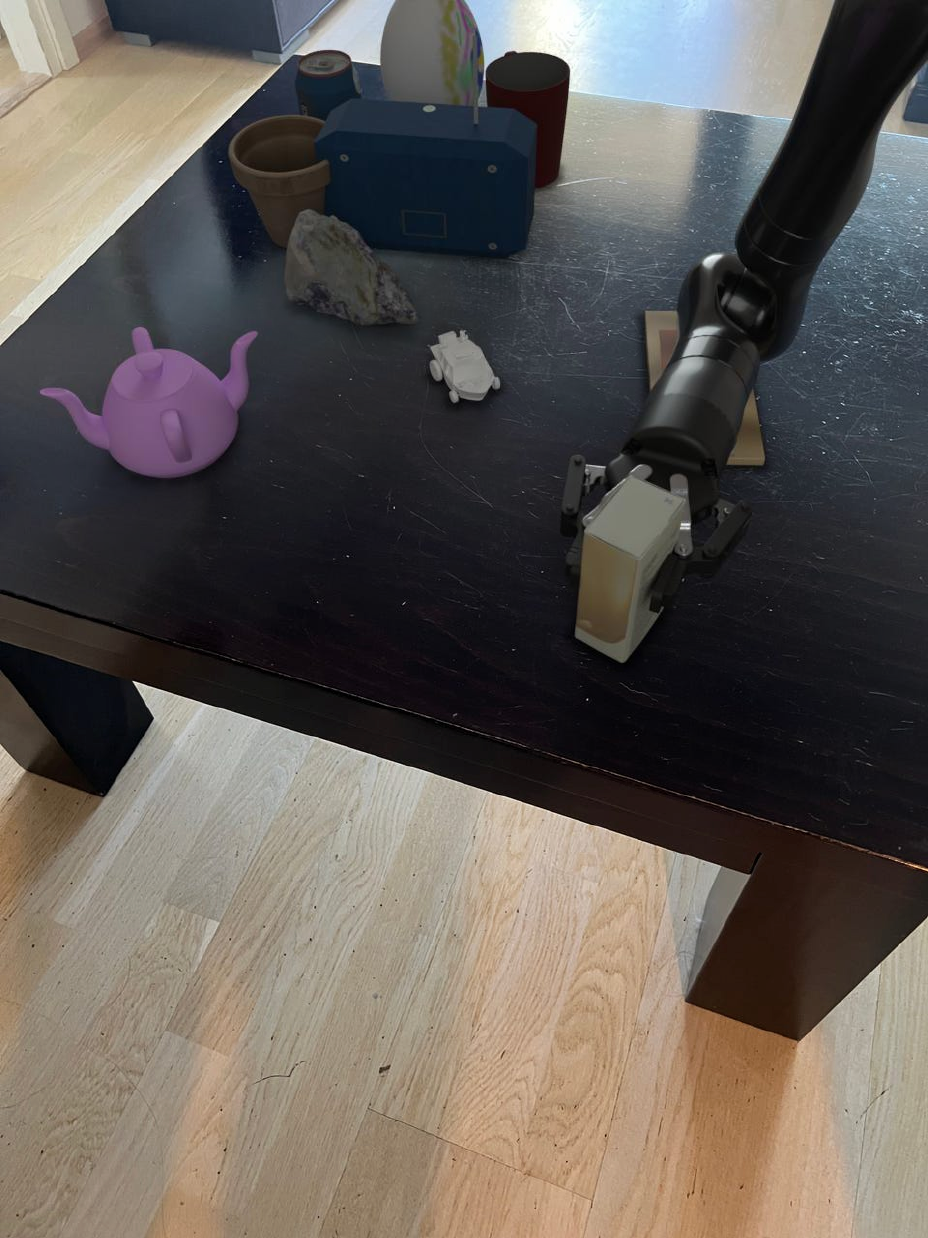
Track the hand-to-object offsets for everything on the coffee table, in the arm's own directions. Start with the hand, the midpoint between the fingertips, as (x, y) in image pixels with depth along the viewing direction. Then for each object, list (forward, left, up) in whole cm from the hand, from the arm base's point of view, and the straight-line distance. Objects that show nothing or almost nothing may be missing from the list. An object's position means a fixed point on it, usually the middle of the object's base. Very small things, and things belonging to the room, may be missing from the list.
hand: (614, 591), depth 65 cm
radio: (+17, -53, -7) cm, 57 cm away
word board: (-9, -29, -7) cm, 32 cm away
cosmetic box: (-1, -2, -7) cm, 8 cm away
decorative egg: (+19, -79, -7) cm, 82 cm away
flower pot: (+32, -53, -7) cm, 62 cm away
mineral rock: (+24, -39, -7) cm, 47 cm away
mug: (+8, -67, -7) cm, 68 cm away
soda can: (+29, -66, -7) cm, 73 cm away
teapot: (+37, -21, -7) cm, 43 cm away
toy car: (+12, -29, -7) cm, 33 cm away
